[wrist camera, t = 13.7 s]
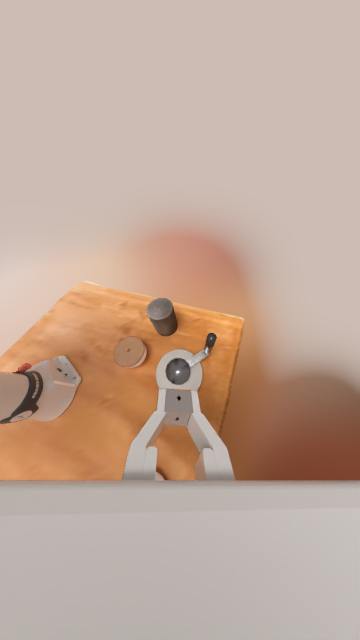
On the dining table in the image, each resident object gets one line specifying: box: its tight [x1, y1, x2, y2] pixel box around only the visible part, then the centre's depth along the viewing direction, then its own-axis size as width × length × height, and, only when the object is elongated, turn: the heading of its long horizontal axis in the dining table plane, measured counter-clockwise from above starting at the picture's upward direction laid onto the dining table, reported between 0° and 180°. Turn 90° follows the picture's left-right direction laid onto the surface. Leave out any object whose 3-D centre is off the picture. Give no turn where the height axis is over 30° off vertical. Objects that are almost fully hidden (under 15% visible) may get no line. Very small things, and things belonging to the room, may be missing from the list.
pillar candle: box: [146, 298, 178, 336], centre depth 50 cm, size 10×10×15 cm
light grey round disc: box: [156, 349, 203, 391], centre depth 45 cm, size 16×16×3 cm
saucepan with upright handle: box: [165, 333, 217, 385], centre depth 38 cm, size 17×8×14 cm, turn 122°
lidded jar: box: [114, 336, 147, 368], centre depth 47 cm, size 11×11×9 cm
